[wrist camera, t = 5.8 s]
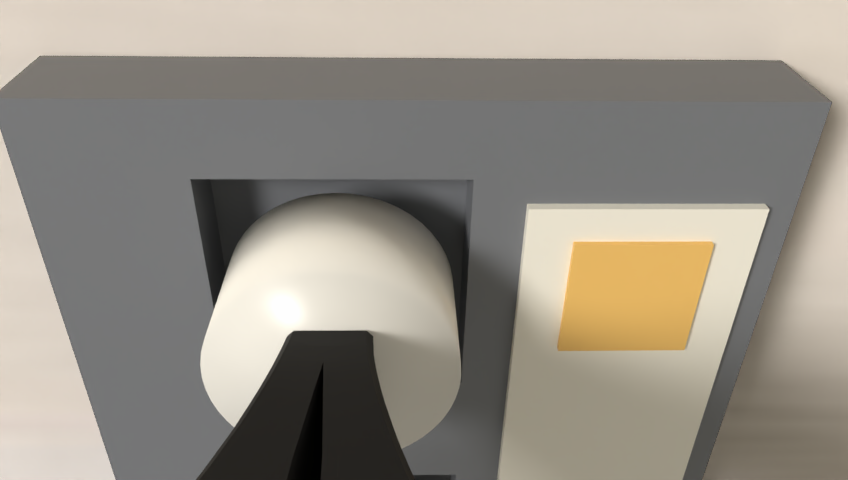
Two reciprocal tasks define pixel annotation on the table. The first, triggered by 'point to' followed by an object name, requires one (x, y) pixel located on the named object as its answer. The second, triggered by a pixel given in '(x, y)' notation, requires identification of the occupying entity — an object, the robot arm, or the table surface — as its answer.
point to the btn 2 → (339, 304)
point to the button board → (445, 218)
